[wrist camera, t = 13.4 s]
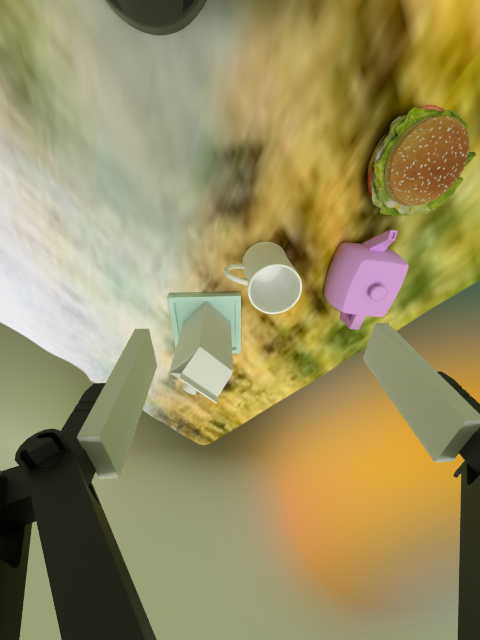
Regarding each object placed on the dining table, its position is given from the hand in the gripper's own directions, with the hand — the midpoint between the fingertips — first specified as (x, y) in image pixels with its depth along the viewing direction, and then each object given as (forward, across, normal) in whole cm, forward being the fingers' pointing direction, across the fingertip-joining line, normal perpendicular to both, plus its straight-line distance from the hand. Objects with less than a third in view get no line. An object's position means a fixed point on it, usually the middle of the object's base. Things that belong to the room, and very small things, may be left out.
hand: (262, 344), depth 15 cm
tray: (+34, -6, -20) cm, 40 cm away
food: (+34, +26, +8) cm, 44 cm away
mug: (+34, +3, -7) cm, 35 cm away
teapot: (+34, +22, -9) cm, 42 cm away
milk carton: (+33, -6, -19) cm, 39 cm away
